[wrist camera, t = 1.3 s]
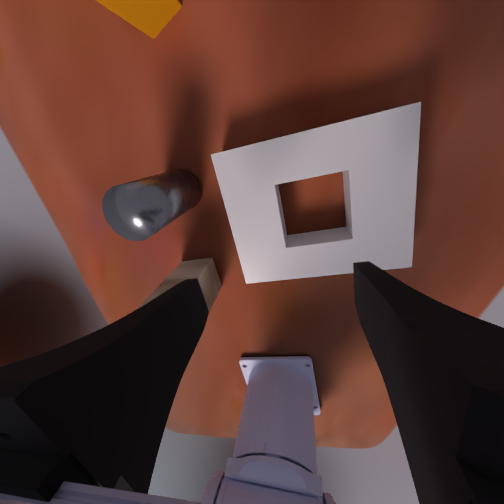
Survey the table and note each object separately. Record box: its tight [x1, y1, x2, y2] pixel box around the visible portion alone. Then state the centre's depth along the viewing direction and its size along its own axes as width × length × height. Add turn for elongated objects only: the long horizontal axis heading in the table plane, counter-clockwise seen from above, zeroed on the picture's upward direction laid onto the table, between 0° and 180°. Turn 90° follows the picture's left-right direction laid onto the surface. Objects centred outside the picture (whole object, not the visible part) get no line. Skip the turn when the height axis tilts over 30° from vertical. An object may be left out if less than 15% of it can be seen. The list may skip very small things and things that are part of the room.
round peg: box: [102, 169, 202, 241], centre depth 16 cm, size 3×3×7 cm
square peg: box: [139, 257, 222, 311], centre depth 20 cm, size 3×3×7 cm
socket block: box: [211, 102, 421, 284], centre depth 17 cm, size 10×12×2 cm
